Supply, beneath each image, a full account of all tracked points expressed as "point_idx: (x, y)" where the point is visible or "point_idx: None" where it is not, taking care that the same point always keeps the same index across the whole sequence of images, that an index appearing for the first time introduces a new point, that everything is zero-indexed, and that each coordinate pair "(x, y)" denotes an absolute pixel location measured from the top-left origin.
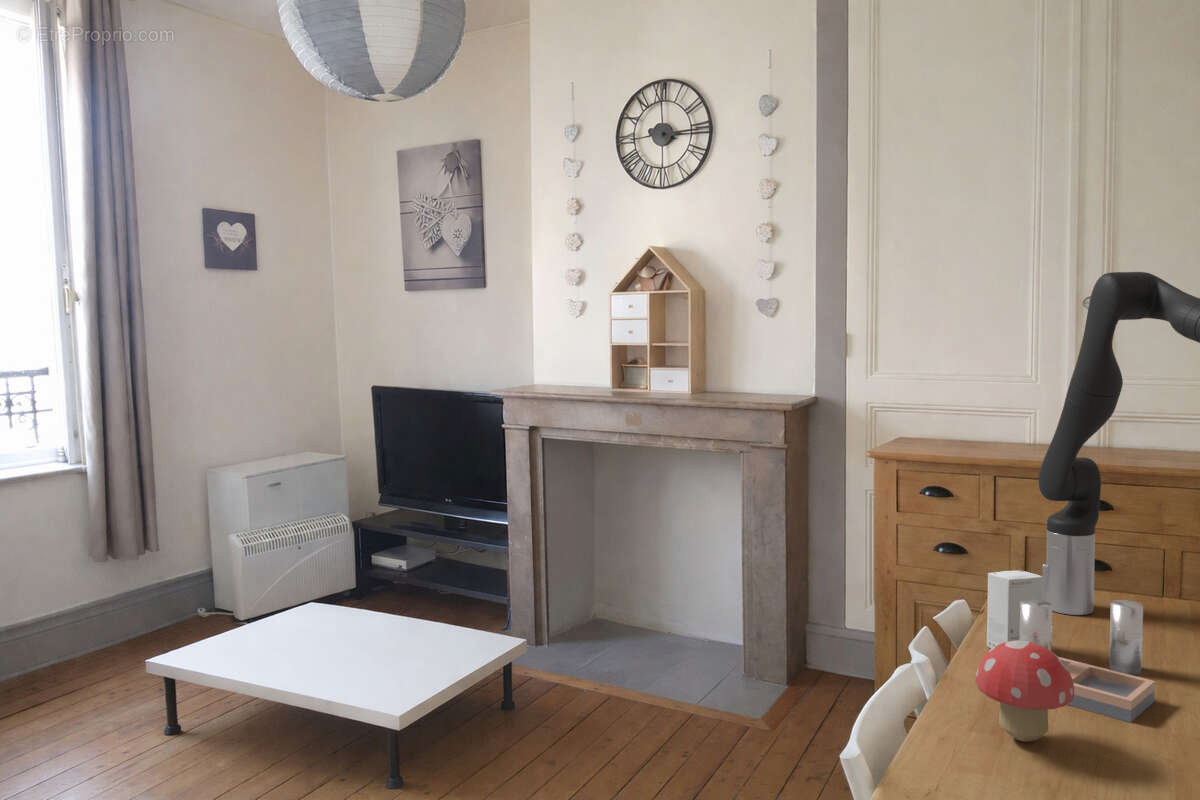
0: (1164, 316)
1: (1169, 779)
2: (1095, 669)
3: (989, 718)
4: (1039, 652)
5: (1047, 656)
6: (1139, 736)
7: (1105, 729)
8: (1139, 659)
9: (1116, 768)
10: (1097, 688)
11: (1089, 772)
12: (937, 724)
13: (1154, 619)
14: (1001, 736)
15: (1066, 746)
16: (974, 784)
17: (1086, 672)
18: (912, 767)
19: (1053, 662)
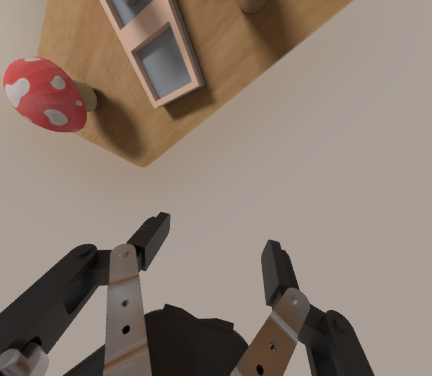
0: None
1: (141, 160)
2: (172, 28)
3: (80, 55)
4: (29, 117)
5: (37, 121)
6: (156, 123)
7: (143, 106)
8: (251, 6)
9: (125, 142)
10: (160, 59)
11: (111, 138)
12: (48, 48)
13: None
14: None
15: (112, 113)
16: None
17: (163, 27)
18: None
19: (45, 125)
